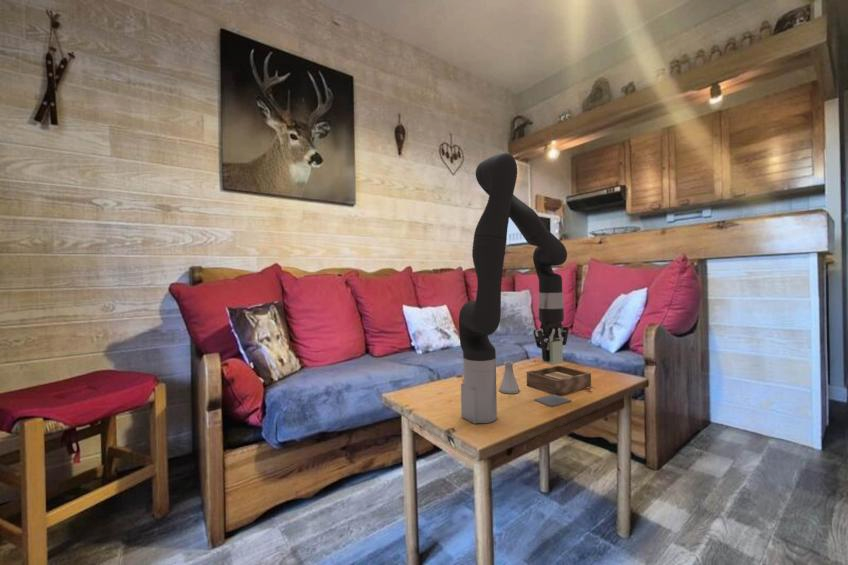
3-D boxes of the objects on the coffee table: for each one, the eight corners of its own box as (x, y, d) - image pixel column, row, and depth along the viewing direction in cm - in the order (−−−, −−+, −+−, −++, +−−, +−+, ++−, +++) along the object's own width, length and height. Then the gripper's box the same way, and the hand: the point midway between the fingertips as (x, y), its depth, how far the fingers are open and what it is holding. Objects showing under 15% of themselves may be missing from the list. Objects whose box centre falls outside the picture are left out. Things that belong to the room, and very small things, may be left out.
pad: (551, 407, 109) (551, 405, 109) (534, 400, 115) (534, 399, 115) (571, 401, 114) (571, 400, 114) (553, 395, 120) (553, 394, 120)
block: (553, 364, 111) (552, 342, 111) (541, 362, 115) (541, 340, 115) (562, 362, 113) (562, 340, 113) (551, 360, 117) (551, 338, 117)
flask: (518, 387, 128) (517, 360, 128) (521, 394, 121) (521, 365, 121) (497, 387, 129) (497, 360, 129) (499, 394, 122) (499, 365, 122)
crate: (558, 396, 119) (558, 381, 118) (526, 385, 131) (526, 371, 131) (591, 387, 127) (590, 373, 127) (558, 378, 139) (558, 365, 139)
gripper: (544, 309, 107) (545, 366, 107) (575, 305, 114) (577, 359, 114) (525, 307, 114) (527, 361, 114) (556, 304, 121) (557, 355, 121)
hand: (552, 359), depth 114 cm, fingers closed on block, 4 cm apart
